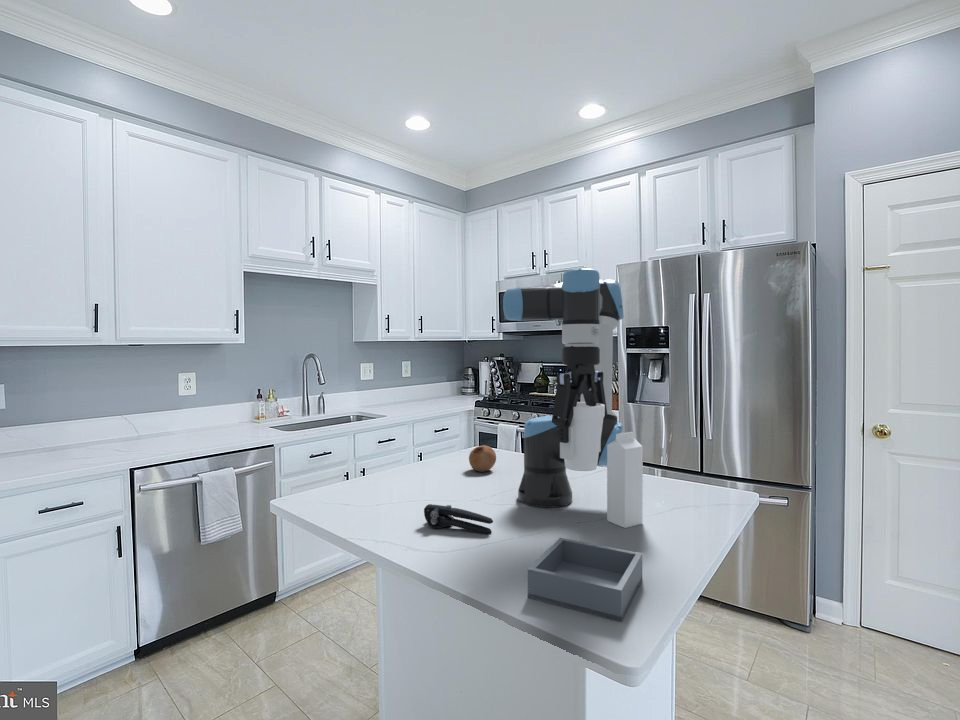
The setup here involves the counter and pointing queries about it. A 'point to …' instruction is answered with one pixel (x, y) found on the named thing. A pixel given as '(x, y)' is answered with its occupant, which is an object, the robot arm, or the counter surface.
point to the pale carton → (625, 481)
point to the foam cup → (586, 436)
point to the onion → (482, 458)
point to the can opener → (443, 517)
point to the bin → (586, 578)
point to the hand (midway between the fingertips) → (580, 454)
